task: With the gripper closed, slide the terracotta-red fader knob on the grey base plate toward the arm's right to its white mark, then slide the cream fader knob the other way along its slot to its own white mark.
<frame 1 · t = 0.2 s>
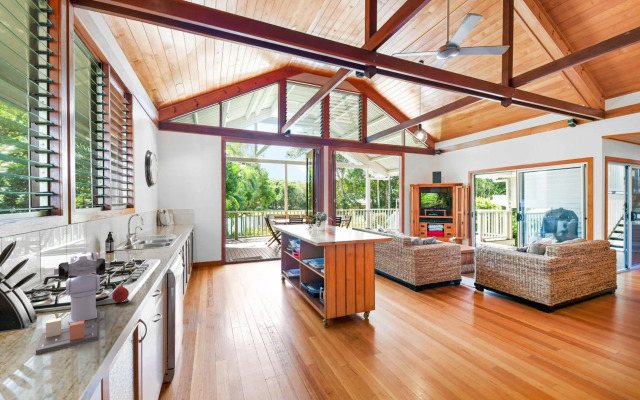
hand: (82, 272, 91), 21 cm above the counter, tool horizontal, fingers open, 7 cm apart
fader cream: (53, 327, 91), point 4 cm above the counter, slide at 0.0 cm
onion: (120, 303, 121), on the counter
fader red: (77, 330, 89), point 4 cm above the counter, slide at 0.0 cm
grey base plate: (69, 338, 91), on the counter
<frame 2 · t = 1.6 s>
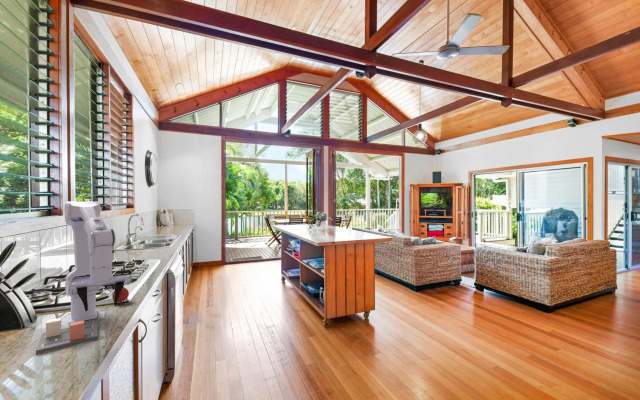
hand: (101, 307, 93), 9 cm above the counter, tool pointing down, fingers open, 7 cm apart
nothing on the counter moved.
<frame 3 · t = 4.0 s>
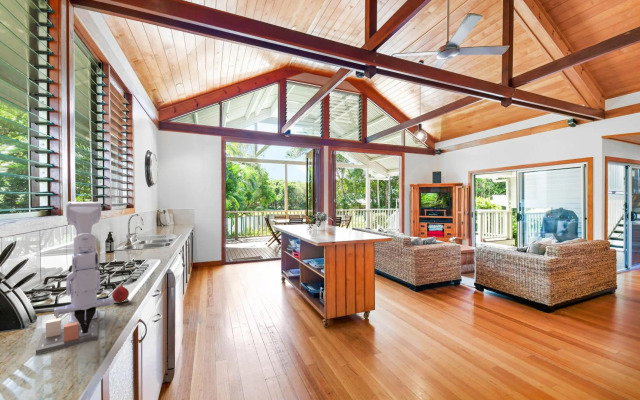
hand: (85, 332, 90), 2 cm above the counter, tool pointing down, fingers closed
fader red: (71, 331, 88), point 4 cm above the counter, slide at 1.4 cm, touching gripper
everything else where it was.
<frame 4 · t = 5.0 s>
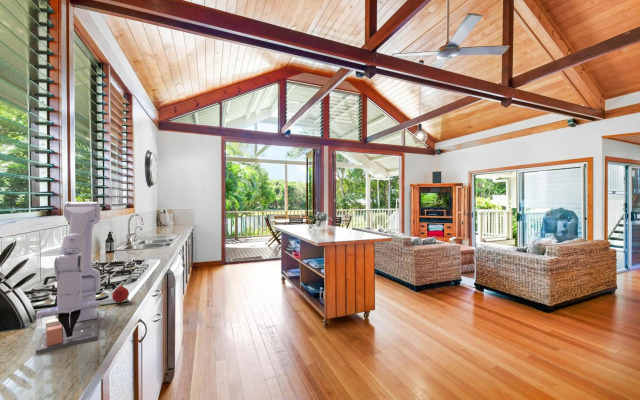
hand: (69, 335, 88), 2 cm above the counter, tool pointing down, fingers closed
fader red: (54, 335, 86), point 4 cm above the counter, slide at 5.1 cm, touching gripper
everything else where it was.
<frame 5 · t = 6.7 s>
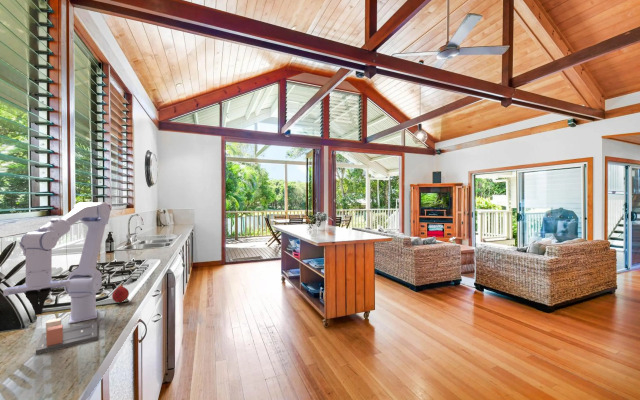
hand: (38, 313, 87), 9 cm above the counter, tool pointing down, fingers closed
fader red: (54, 335, 86), point 4 cm above the counter, slide at 5.1 cm
everything else where it was.
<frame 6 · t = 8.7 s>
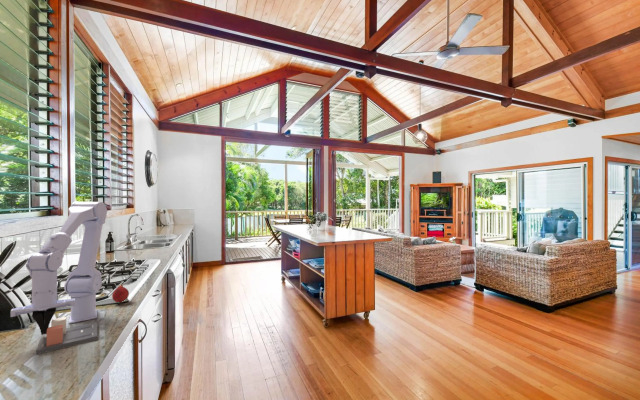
hand: (44, 333, 89), 2 cm above the counter, tool pointing down, fingers closed
fader cream: (58, 326, 91), point 4 cm above the counter, slide at 1.2 cm, touching gripper
everything else where it was.
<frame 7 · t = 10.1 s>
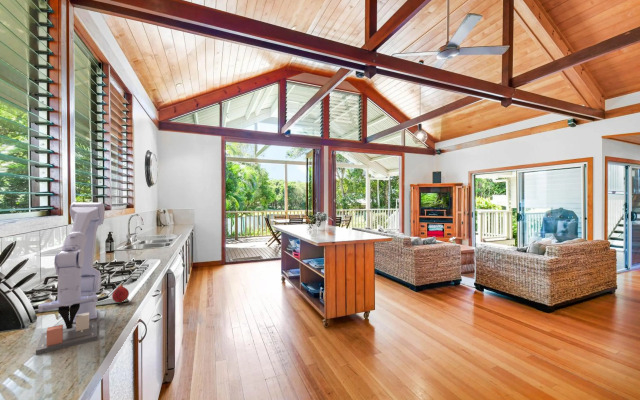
hand: (69, 327, 93), 2 cm above the counter, tool pointing down, fingers closed
fader cream: (82, 321, 95), point 4 cm above the counter, slide at 7.1 cm, touching gripper
everything else where it was.
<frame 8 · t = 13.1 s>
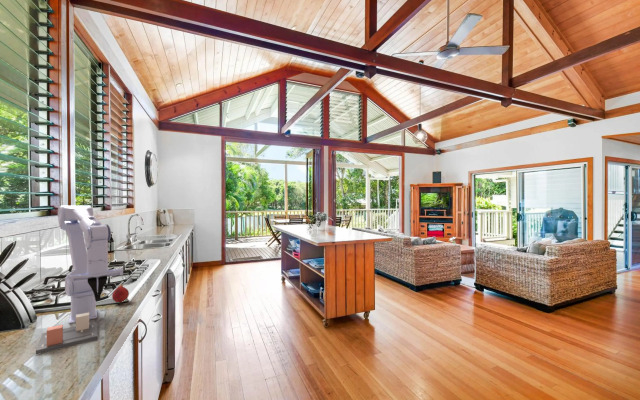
hand: (97, 298, 98), 10 cm above the counter, tool pointing down, fingers closed
fader cream: (82, 321, 95), point 4 cm above the counter, slide at 7.1 cm
everything else where it was.
at the end: fader cream slide at 7.1 cm; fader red slide at 5.1 cm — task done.
